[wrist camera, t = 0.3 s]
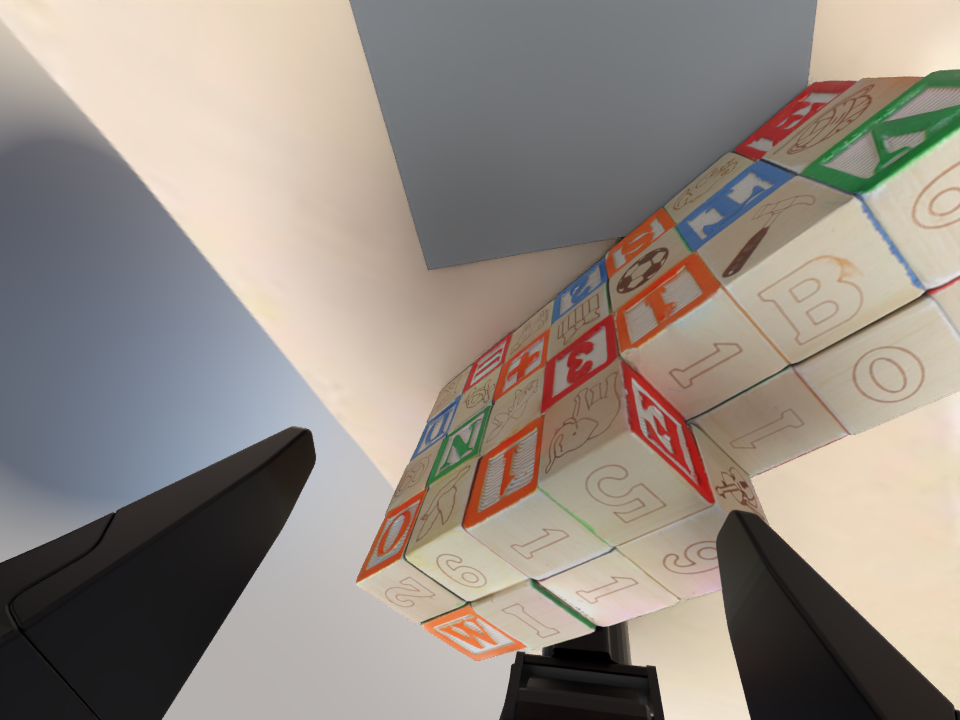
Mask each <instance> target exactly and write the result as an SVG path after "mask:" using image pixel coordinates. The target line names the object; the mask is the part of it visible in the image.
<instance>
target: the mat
mask: <svg viewBox="0 0 960 720" xmlns="http://www.w3.org/2000/svg"><path fill="white" fill-rule="evenodd" d="M349 1H350V4H351V8H352V11H353V15H354V18H355V22H356V25H357V28H358V32H359V35H360V39H361V42H362V46H363V49H364V52H365V56H366V59H367V63H368V66H369V70H370V73H371V76H372V80H373V83H374V87H375V90H376V94H377V97H378V100H379V104H380V107H381V111H382V114H383V118H384V121H385V124H386V128H387V131H388V135H389V138H390V141H391V145H392V148H393V152H394V155H395V159H396V162H397V165H398V169H399V172H400V176H401V179H402V183H403V186H404V189H405V193H406V196H407V200H408V203H409V207H410V210H411V213H412V217H413V220H414V224H415V227H416V231H417V234H418V237H419V241H420V244H421V248H422V251H423V255H424V258H425V261H426V265H427V268H428V270H432V269H438V268H444V267H449V266H455V265H461V264H467V263H473V262H479V261H484V260H490V259H496V258H502V257H508V256H514V255H519V254H525V253H531V252H537V251H543V250H549V249H555V248H560V247H566V246H572V245H578V244H584V243H590V242H595V241H601V240H607V239H613V238H619V237H625V236H627V235H629V234H630V233H631V232H632V231H633V230H635V229H636V228H637V227H638V226H640V225H641V224H642V223H643V222H644V221H646V220H647V219H648V218H649V217H650V216H652V215H653V214H654V213H655V212H657V211H658V210H659V209H661V208H663V207H664V206H665V205H666V204H667V203H668V202H669V201H670V200H671V199H672V198H674V197H675V196H676V195H677V194H678V193H680V192H681V191H682V190H683V189H684V188H686V187H687V186H688V185H689V184H690V183H692V182H693V181H694V180H695V179H696V178H697V177H699V176H700V175H701V174H702V173H703V172H705V171H706V170H707V169H708V168H709V167H711V166H712V165H713V164H714V163H715V162H717V161H718V160H719V159H720V158H721V157H723V156H724V155H725V154H727V153H728V152H734V151H735V149H736V148H737V147H738V146H739V145H740V144H742V143H743V142H744V141H746V140H747V139H748V138H749V137H750V136H751V135H752V134H753V133H755V132H756V131H757V130H758V129H760V128H761V127H762V126H763V125H764V124H765V123H767V122H768V121H769V120H770V119H771V118H772V117H774V116H775V115H776V114H777V113H778V112H780V111H781V110H782V109H783V108H784V107H785V106H787V105H788V104H789V103H790V102H791V101H792V100H794V99H795V98H796V97H797V96H798V95H799V94H801V93H802V92H803V91H804V90H805V89H806V88H807V84H808V76H809V67H810V58H811V50H812V41H813V32H814V24H815V15H816V6H817V0H349Z"/></svg>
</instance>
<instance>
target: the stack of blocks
mask: <svg viewBox="0 0 960 720" xmlns="http://www.w3.org/2000/svg"><path fill="white" fill-rule="evenodd" d="M959 391H960V69H958V70H940V71H936V72H932V73H930V74H929V75H927V76H926V77H884V78H863V79H861V80H859V81H823V82H814V83H813V84H811V85H810V86H809V87H808V88H806V89H805V90H804V91H803V92H802V93H801V94H799V95H798V96H797V97H796V98H795V99H794V100H792V101H791V102H790V103H789V104H788V105H787V106H785V107H784V108H783V109H782V110H781V111H780V112H778V113H777V114H776V115H775V116H774V117H772V118H771V119H770V120H769V121H768V122H767V123H765V124H764V125H763V126H762V127H761V128H760V129H758V130H757V131H756V132H755V133H753V134H752V135H751V136H750V137H749V138H748V139H747V140H746V141H744V142H743V143H742V144H740V145H739V146H738V147H737V148H736V149H735V151H734V152H728V153H727V154H725V155H724V156H723V157H721V158H720V159H719V160H718V161H717V162H715V163H714V164H713V165H712V166H711V167H709V168H708V169H707V170H706V171H705V172H703V173H702V174H701V175H700V176H699V177H697V178H696V179H695V180H694V181H693V182H692V183H690V184H689V185H688V186H687V187H686V188H684V189H683V190H682V191H681V192H680V193H678V194H677V195H676V196H675V197H674V198H672V199H671V200H670V201H669V202H668V203H667V204H666V205H665V206H664V207H663V208H661V209H659V210H658V211H657V212H655V213H654V214H653V215H652V216H650V217H649V218H648V219H647V220H646V221H644V222H643V223H642V224H641V225H640V226H638V227H637V228H636V229H635V230H633V231H632V232H631V233H630V234H629V235H627V236H626V237H625V238H624V239H623V240H621V241H620V242H619V243H618V244H617V245H615V246H614V247H613V248H612V249H610V250H609V251H608V252H607V253H606V255H605V257H604V258H603V259H601V260H600V261H599V262H597V263H596V264H595V265H594V266H593V267H591V268H590V269H589V270H588V271H587V272H586V273H584V274H583V275H582V276H581V277H579V278H578V279H577V280H576V281H575V282H573V283H572V284H571V285H570V286H568V287H567V288H566V289H565V290H564V291H562V292H561V293H560V294H559V295H558V296H557V297H556V299H554V300H553V301H551V302H550V303H549V304H547V305H546V306H545V307H544V308H543V309H541V310H540V311H539V312H538V313H537V314H535V315H534V316H533V317H532V318H531V319H529V320H528V321H527V322H526V323H525V324H523V325H522V326H521V327H520V328H519V329H517V330H516V331H515V332H514V333H511V334H509V335H508V336H507V337H505V338H504V339H503V340H502V341H500V342H499V343H498V344H497V345H496V346H494V347H493V348H492V349H491V350H490V351H488V352H487V353H486V354H485V355H483V356H482V357H481V358H480V359H478V360H477V361H476V362H475V363H474V364H473V365H471V366H470V367H468V368H467V369H466V370H465V371H463V372H462V373H461V374H460V375H459V376H457V377H456V378H455V379H454V380H453V381H451V382H450V383H449V384H448V385H447V386H445V387H444V388H443V389H442V390H441V392H440V393H439V396H438V398H437V401H436V403H435V405H434V408H433V410H432V412H431V414H430V416H429V418H428V420H427V425H426V427H425V429H424V431H423V434H422V436H421V438H420V441H419V443H418V445H417V448H416V450H415V452H414V454H413V456H412V458H411V460H410V463H409V464H408V465H407V467H406V469H405V471H404V473H403V476H402V478H401V480H400V482H399V484H398V486H397V488H396V490H395V493H394V495H393V497H392V499H391V502H390V504H389V506H388V509H387V511H386V514H385V519H384V521H383V523H382V525H381V527H380V529H379V531H378V534H377V535H376V537H375V540H374V542H373V544H372V546H371V549H370V551H369V553H368V555H367V557H366V560H365V562H364V564H363V566H362V568H361V571H360V573H359V575H358V578H357V581H356V585H357V586H358V587H360V588H361V589H363V590H365V591H366V592H368V593H369V594H371V595H372V596H374V597H375V598H377V599H378V600H380V601H381V602H383V603H384V604H386V605H387V606H389V607H390V608H392V609H393V610H395V611H396V612H398V613H399V614H401V615H402V616H404V617H405V618H407V619H408V620H410V621H411V622H413V623H415V624H417V623H420V622H421V626H422V627H423V628H424V629H425V630H427V631H428V632H429V633H431V634H433V635H435V636H436V637H438V638H440V639H441V640H442V641H444V642H445V643H447V644H449V645H450V646H452V647H454V648H455V649H457V650H458V651H460V652H462V653H463V654H465V655H467V656H468V657H470V658H472V659H473V660H475V661H481V660H485V659H488V658H491V657H495V656H498V655H501V654H504V653H509V652H513V651H515V650H519V649H522V648H526V647H528V648H531V649H533V650H534V649H539V648H543V647H547V646H550V645H553V644H557V643H560V642H563V641H567V640H570V639H574V638H577V637H580V636H583V635H586V634H590V633H592V632H594V631H595V628H596V625H598V626H602V627H604V626H611V625H614V624H617V623H620V622H623V621H626V620H629V619H632V618H636V617H640V616H643V615H645V614H648V613H651V612H654V611H657V610H660V609H664V608H667V607H671V606H674V605H675V604H677V603H678V602H679V601H680V600H681V599H685V600H689V599H693V598H696V597H699V596H702V595H706V594H709V593H712V592H715V591H719V590H722V586H721V579H720V572H719V565H718V558H717V551H716V539H717V535H718V533H719V531H720V529H721V527H722V525H723V524H724V522H725V520H726V518H727V516H728V514H729V513H730V512H731V511H732V510H742V511H747V512H752V513H755V514H757V515H758V516H759V517H760V518H761V519H762V520H764V521H765V522H766V523H767V524H768V525H769V523H768V521H767V519H766V516H765V514H764V512H763V509H762V507H761V504H760V502H759V500H758V497H757V495H756V492H755V490H754V487H753V485H752V482H751V480H750V478H751V477H753V476H756V475H759V474H761V473H763V472H765V471H768V470H770V469H772V468H775V467H777V466H780V465H782V464H784V463H786V462H789V461H791V460H793V459H795V458H798V457H800V456H802V455H805V454H807V453H809V452H812V451H814V450H816V449H819V448H821V447H823V446H826V445H828V444H830V443H832V442H835V441H837V440H839V439H841V438H843V437H845V436H847V435H855V434H858V433H861V432H863V431H866V430H868V429H871V428H873V427H875V426H878V425H880V424H882V423H885V422H887V421H889V420H892V419H894V418H897V417H899V416H901V415H904V414H906V413H908V412H911V411H913V410H915V409H918V408H920V407H923V406H925V405H927V404H930V403H932V402H935V401H937V400H939V399H942V398H944V397H947V396H949V395H951V394H954V393H956V392H959Z"/></svg>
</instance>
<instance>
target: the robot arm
mask: <svg viewBox="0 0 960 720" xmlns="http://www.w3.org/2000/svg"><path fill="white" fill-rule="evenodd" d="M315 461H316V454H315V448H314V442H313V436H312V433H311V431H310V430H309V429H306V428H301V427H296V426H294V427H289V428H287V429H285V430H283V431H281V432H279V433H277V434H275V435H273V436H270V437H268V438H267V439H264V440H262V441H261V442H258V443H256V444H254V445H252V446H250V447H248V448H246V449H243V450H241V451H239V452H237V453H236V454H233V455H231V456H229V457H227V458H225V459H223V460H221V461H218V462H216V463H214V464H212V465H210V466H208V467H206V468H204V469H202V470H200V471H198V472H196V473H194V474H191V475H189V476H187V477H185V478H183V479H181V480H179V481H177V482H175V483H173V484H171V485H169V486H166V487H164V488H162V489H160V490H158V491H156V492H154V493H152V494H150V495H148V496H146V497H144V498H142V499H139V500H137V501H135V502H133V503H131V504H129V505H127V506H125V507H123V508H121V509H119V510H117V511H116V513H114V512H113V513H110V514H108V515H106V516H104V517H102V518H100V519H98V520H95V521H93V522H91V523H89V524H87V525H85V526H83V527H81V528H79V529H76V530H74V531H72V532H70V533H68V534H65V535H63V536H61V537H59V538H57V539H55V540H52V541H50V542H48V543H46V544H43V545H41V546H39V547H37V548H34V549H32V550H29V551H27V552H25V553H22V554H20V555H18V556H16V557H13V558H11V559H9V560H6V561H4V562H1V563H0V720H162V718H163V717H164V715H165V714H166V712H167V711H168V709H169V707H170V706H171V704H172V702H173V701H174V699H175V698H176V696H177V694H178V693H179V691H180V690H181V688H182V687H183V685H184V684H185V682H186V680H187V679H188V677H189V676H190V674H191V673H192V671H193V669H194V668H195V666H196V665H197V663H198V662H199V660H200V658H201V657H202V655H203V653H204V652H205V650H206V649H207V647H208V646H209V644H210V643H211V641H212V639H213V638H214V636H215V635H216V633H217V631H218V630H219V628H220V627H221V625H222V624H223V622H224V620H225V619H226V617H227V616H228V614H229V612H230V611H231V609H232V608H233V606H234V605H235V603H236V601H237V600H238V598H239V597H240V595H241V594H242V592H243V590H244V589H245V587H246V586H247V584H248V582H249V581H250V579H251V578H252V576H253V574H254V573H255V571H256V570H257V568H258V567H259V565H260V564H261V562H262V560H263V559H264V557H265V556H266V554H267V552H268V551H269V549H270V548H271V546H272V545H273V543H274V541H275V540H276V538H277V537H278V535H279V533H280V532H281V530H282V528H283V527H284V525H285V523H286V521H287V519H288V517H289V516H290V514H291V511H292V510H293V508H294V506H295V504H296V501H297V499H298V497H299V495H300V493H301V491H302V489H303V487H304V485H305V483H306V481H307V479H308V477H309V475H310V473H311V471H312V469H313V467H314V465H315ZM716 551H717V558H718V565H719V572H720V579H721V586H722V593H723V600H724V607H725V614H726V620H727V626H728V630H729V635H730V639H731V643H732V647H733V651H734V655H735V659H736V663H737V667H738V670H739V674H740V678H741V682H742V686H743V690H744V694H745V698H746V702H747V706H748V710H749V714H750V718H751V720H960V711H959V710H955V709H954V705H953V704H952V703H951V702H950V701H949V700H948V699H947V698H946V697H945V696H944V695H943V694H942V693H941V692H940V691H939V690H938V689H937V688H936V687H935V686H934V685H933V684H932V683H931V682H930V681H929V680H928V679H926V678H925V677H924V676H923V675H922V674H921V673H920V672H919V671H918V670H917V669H916V668H915V667H914V666H913V665H912V664H911V663H910V662H909V661H908V660H907V659H906V658H905V657H904V656H903V655H902V654H901V653H900V652H899V651H898V650H897V649H896V648H895V647H893V646H892V645H891V644H890V643H889V642H888V641H887V640H886V639H885V638H884V637H883V636H882V635H881V634H880V633H879V632H878V631H877V630H876V629H875V628H874V627H873V626H872V625H871V624H870V623H869V622H868V621H867V620H866V619H865V618H864V617H863V616H861V615H860V614H859V613H858V612H857V611H856V610H855V609H854V608H853V607H852V606H851V605H850V604H849V603H848V602H847V601H846V600H845V599H844V598H843V597H842V596H841V595H840V594H839V593H838V592H837V591H836V590H835V589H834V588H833V587H832V586H831V585H830V584H828V583H827V582H826V581H825V580H824V579H823V578H822V577H821V576H820V575H819V574H818V573H817V572H816V571H815V570H814V569H813V568H812V567H811V566H810V565H809V564H808V563H807V562H806V561H805V560H804V559H803V558H802V557H801V556H800V555H799V554H798V553H797V552H795V551H794V550H793V549H792V548H791V547H790V546H789V545H788V544H787V543H786V542H785V541H784V540H783V539H782V538H781V537H780V536H779V535H778V534H777V533H776V532H775V531H774V530H773V529H772V528H771V527H770V526H769V525H768V524H767V523H766V522H765V521H764V520H762V519H761V518H760V517H759V516H758V515H757V514H755V513H752V512H747V511H742V510H732V511H731V512H730V513H729V514H728V516H727V518H726V520H725V522H724V524H723V525H722V527H721V529H720V531H719V533H718V535H717V539H716ZM499 720H665V719H664V713H663V707H662V701H661V696H660V690H659V684H658V678H657V672H656V667H655V666H649V665H646V667H642V666H633V665H631V655H630V644H629V634H628V624H627V620H626V621H623V622H620V623H617V624H614V625H611V626H604V627H602V626H598V625H596V628H595V631H594V632H592V633H590V634H586V635H583V636H580V637H577V638H574V639H570V640H567V641H563V642H560V643H557V644H553V645H550V646H547V647H543V648H542V656H541V655H532V654H526V653H525V652H519V651H517V654H516V659H515V663H514V664H512V665H511V673H510V679H509V684H508V690H507V694H506V699H505V703H504V707H503V710H502V713H501V716H500V719H499Z"/></svg>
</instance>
